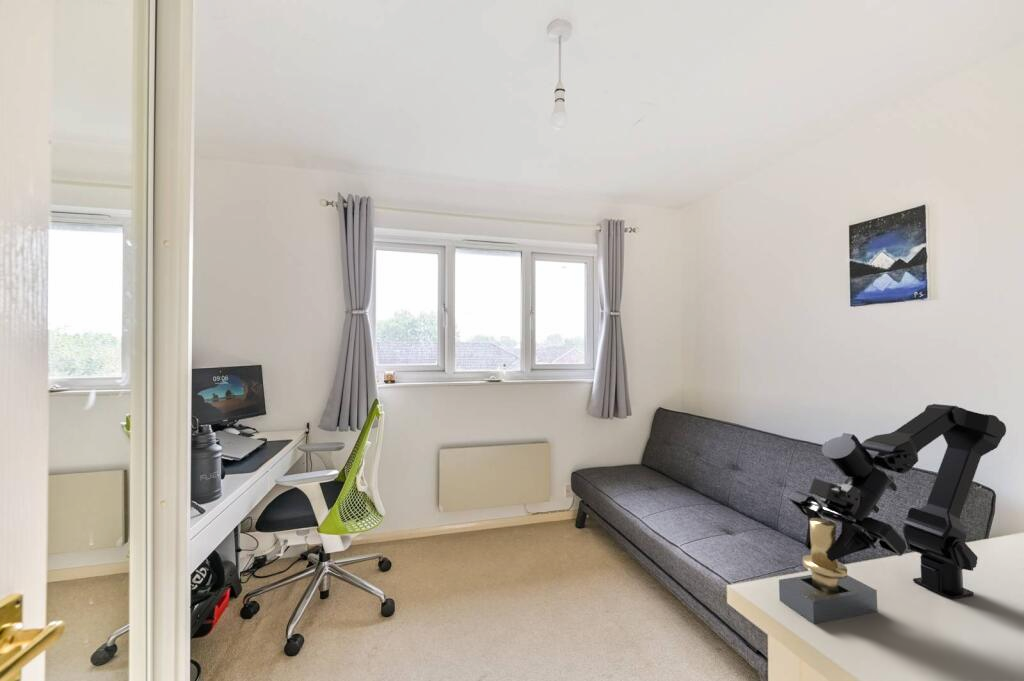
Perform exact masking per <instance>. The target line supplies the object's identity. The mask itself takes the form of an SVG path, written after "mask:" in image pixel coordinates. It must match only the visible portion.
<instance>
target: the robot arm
mask: <svg viewBox="0 0 1024 681" xmlns="http://www.w3.org/2000/svg"><path fill="white" fill-rule="evenodd" d="M1006 434H1007V426H1006V424H1005V423H1004V421H1002V420H1000V419H999V418H998V416H996V415H994V414H987V413H986V414H985V413H980V412H976V411H971V410H967V409H965V408H963V407H959V406H957V405H950V404H949V405H948V404H941V403H940V404H938V403H933V404H928V405H926V407H925V409H924V411H922V412H920V413H919V414H918V415H916V416H914V417H913V418H912V419H910V420H909V421H907V422H906V423H905V424H903V425H902V426H900V427H899V428H897V429H896V430H894V431H892V432H890V433H884V434H877V435H873V436H872V437H869V438H867V439H865V440H863V442H860V441H859V439H858V437H857V436H856V435H855V434H851V433H845V432H843V433H842V435H841V436H838V437H837V436H836V437H833V438H831V439H829V440H827V441H825V442H824V443H823V445H822V446H821V452H822V454H823V455H824V456H825V457H826V459H827V460H828V461H829V462H830V463H831V464H832V465H833V466H834V468H836V469H837V470H838V472H839V473H840V475H843V476H844V477H846V478H845V480H844V482H843V483H841V482H836V483H832V482H829V481H825V480H822V479H820V478H816V477H813V479H812V482H811V484H810V486H809V491H808V493H809V494H807V493H805V492H802V491H800V490H796V491H792V493H791V495H790V496H789V497H788V500H789V501H790V502H791V504H793V506H795V508H797V510H798V511H800V513H801V514H802V515H804V516H806V518H808V521H807V522H808V524H807V525H808V526H807V532H806V539H805V544H804V546H805V548H806V549H807V550H810V551H811V541H810V518H821V519H826V520H830V521H832V522H833V521H834V522H836V523H839V524H841V532H840V534H839V535H838V537H837V538H836V542H835V543H834V545H833V546H832V548H831V549H830V551H829V553H828V555H827V558H828V559H829V560H830V561H834V560H836V559H837V560H839V559H841V558H844V557H847V556H849V555H852V554H854V553H858V552H861V551H865V550H868V549H872V550H876V549H877V546H876V545H875V544H876V543H877V541H878V543H879V545H880V547H881V549H883V550H885V551H887V552H889V553H891V554H894V555H896V556H898V557H901V556H902V555H903V554H904V552H905V551H906V549H907V548H908V550H910V551H911V552H912V551H913V552H916V553H918V554H920V577H913V579H912V581H913V582H914V583H915V584H919V585H920V586H921V587H924V586H925V588H926V587H927V589H929V590H930V591H933V592H936V593H937V594H940V595H941V596H944V597H946V598H948V599H953V600H955V599H958V598H963V597H964V598H966V597H970V596H974V592H973V591H972V590H970V589H967V588H964V578H963V570H965V571H972V572H973V571H974V568H976V567H977V564H978V559H979V558H978V556H977V555H976V554H975V552H974V551H973V550H972V549H971V548H970V547H969V546H968V545H967V543H966V540H967V533H966V531H965V529H964V526H963V525H962V522H961V519H960V518H961V515H962V512H963V509H964V507H965V504H966V500H967V497H968V495H969V492H970V490H971V486H972V484H973V481H974V478H975V475H976V472H977V469H978V466H979V463H980V461H981V458H982V457H984V455H987V454H988V453H990V452H992V451H993V450H996V449H997V448H998V446H999V445H1000V443H1001V441H1002V439H1003V437H1005V435H1006ZM940 436H942V437H943V438H944V440H945V443H946V445H947V446H946V449H945V451H944V455H943V458H942V460H941V463H940V465H939V468H938V471H937V474H936V476H935V479H934V482H933V484H932V487H931V490H930V493H929V495H928V498H927V500H926V503H925V505H923V506H921V507H920V508H917V507H914V506H913V507H911V508H909V509H908V511H907V512H908V513H907V515H906V518H905V519H904V521H903V527H902V533H903V534H902V535H903V536H904V538H903V537H902V536H901V535H900V534H899V533H898V531H897V530H896V529H895V528H894V527H893V526H892V525H891V524H890V523H887V522H884V521H881V520H879V519H877V518H873V517H871V516H870V514H871V513H874V514H878V513H879V512H880V508H879V507H878V506H877V504H878V502H879V501H880V500H881V498H882V497H883V496H884V493H885V492H886V491H887V490H890V491H893V492H897V490H898V487H897V484H896V483H895V481H894V476H891V475H888V474H887V472H885V471H884V470H886V471H890V472H893V473H896V474H897V473H898V474H905V473H908V472H909V471H911V469H912V468H913V467H914V466H915V465H916V464H918V462H919V456H918V453H919V452H920V451H921V450H922V449H924V448H925V447H927V446H928V445H929V444H931V443H933V441H935V440H936V439H938V438H939V437H940ZM810 494H812V495H810ZM813 495H816V496H818V497H820V501H821V502H822V503H823V504H824V505H826V506H823V505H822V504H821V503H820V502H819V501H818V499H816V498H815V497H814V496H813Z"/></svg>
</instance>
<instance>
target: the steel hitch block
mask: <svg viewBox="0 0 1024 681" xmlns="http://www.w3.org/2000/svg"><path fill="white" fill-rule="evenodd" d="M838 588H839V594H833V595H826V594H824V593H823V592H821V591H819V590H817V589H816V588H814V587H812V574H809V575H808V574H806V575H801V576H796V577H787V578H781V579H778V589H779V590H778V592H779V597H778V598H779V601H780V602H782V603H783V604H784V605H786V606H787V607H788V608H790V609H791V610H793V611H795V612H796V613H797V614H799V615H800V616H801V617H804V618H805V619H806V620H808V621H809V622H810V623H812V624H819V623H826V622H831V621H836V620H842V619H846V618H847V619H848V618H851V617H857V616H863V615H867V614H874V613H878V595H877V594H878V592H877V591H878V590H876V589H875V588H873V587H871V586H869V585H867V584H865V583H863V582H862V581H859V580H857V579H856V578H854V577H852V576H850V575H849V574H847V577H846V578H843V579H838ZM873 612H874V613H873Z"/></svg>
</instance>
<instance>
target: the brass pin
mask: <svg viewBox="0 0 1024 681" xmlns="http://www.w3.org/2000/svg"><path fill="white" fill-rule="evenodd" d="M836 540H837V526H836V523H835V522H833V520H830V519H828V520H826V519H821V518H810V541H811V550H810V554H806V555H803V556H802V566H803V567H804V568H805V569H806V570H808V571H809V572H811V575H812V587H814V588H816V589H817V590H819V591H821V592H823V593H824V594H826V595H833V594H839V588H838V579H843V578H846V577H847V575H848V568H847V566H846V565H845V564H843V563H842V562H839V561H838V559H836V560H834V561H830V560H829V559H828V558H827V555H828V553H829V551H830V549H831V548H832V546H833V545H834V543H835V542H836Z"/></svg>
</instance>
